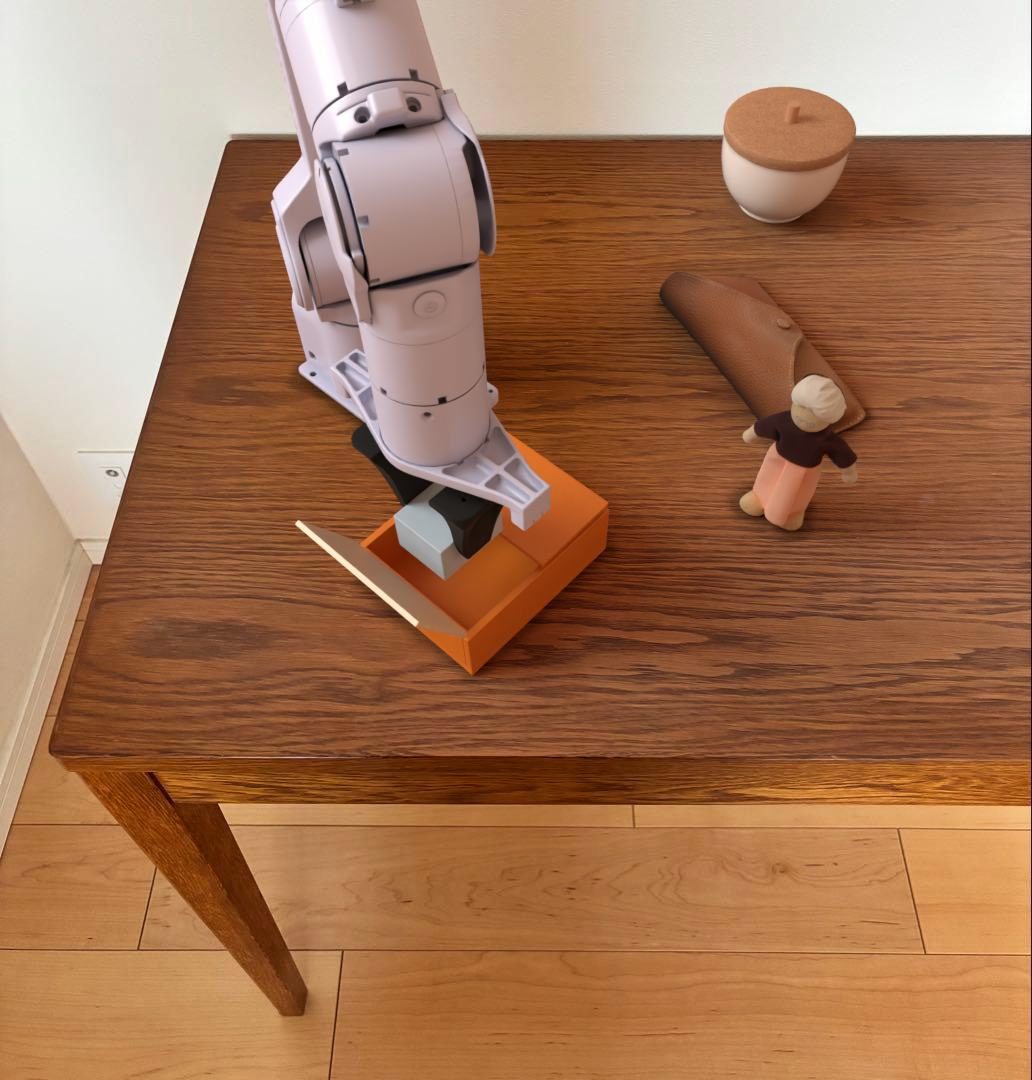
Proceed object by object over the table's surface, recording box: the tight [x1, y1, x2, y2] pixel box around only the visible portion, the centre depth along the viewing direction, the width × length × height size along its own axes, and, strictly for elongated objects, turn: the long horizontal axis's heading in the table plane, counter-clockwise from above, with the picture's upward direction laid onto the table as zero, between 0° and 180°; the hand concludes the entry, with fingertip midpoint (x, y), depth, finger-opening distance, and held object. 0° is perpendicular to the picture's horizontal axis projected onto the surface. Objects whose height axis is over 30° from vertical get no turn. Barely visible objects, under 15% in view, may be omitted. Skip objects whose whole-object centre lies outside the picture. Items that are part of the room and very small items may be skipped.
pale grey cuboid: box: [393, 482, 503, 581], centre depth 59 cm, size 5×4×3 cm
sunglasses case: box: [658, 270, 867, 442], centre depth 75 cm, size 18×7×7 cm
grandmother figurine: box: [739, 375, 859, 531], centre depth 63 cm, size 8×4×13 cm, turn 70°
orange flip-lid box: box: [359, 430, 610, 676], centre depth 64 cm, size 13×10×5 cm
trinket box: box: [720, 86, 857, 224], centre depth 84 cm, size 11×11×9 cm
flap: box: [294, 519, 467, 638], centre depth 57 cm, size 6×10×1 cm
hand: (448, 525), depth 59 cm, fingers closed on pale grey cuboid, 4 cm apart
